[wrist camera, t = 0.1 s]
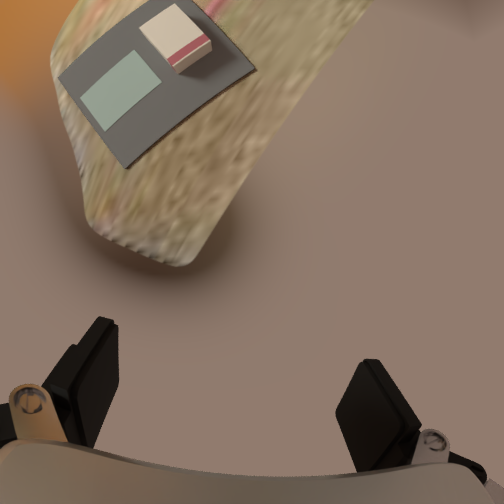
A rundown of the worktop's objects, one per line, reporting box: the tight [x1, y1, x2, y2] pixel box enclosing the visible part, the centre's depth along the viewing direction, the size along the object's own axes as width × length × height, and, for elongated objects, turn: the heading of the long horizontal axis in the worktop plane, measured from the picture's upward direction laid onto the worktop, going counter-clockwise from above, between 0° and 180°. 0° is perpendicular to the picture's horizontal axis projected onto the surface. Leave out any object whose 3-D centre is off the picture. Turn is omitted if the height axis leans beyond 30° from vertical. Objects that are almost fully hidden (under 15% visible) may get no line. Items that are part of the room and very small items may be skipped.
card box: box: [139, 3, 212, 74], centre depth 31 cm, size 8×6×4 cm
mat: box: [58, 0, 255, 169], centre depth 33 cm, size 22×19×1 cm
